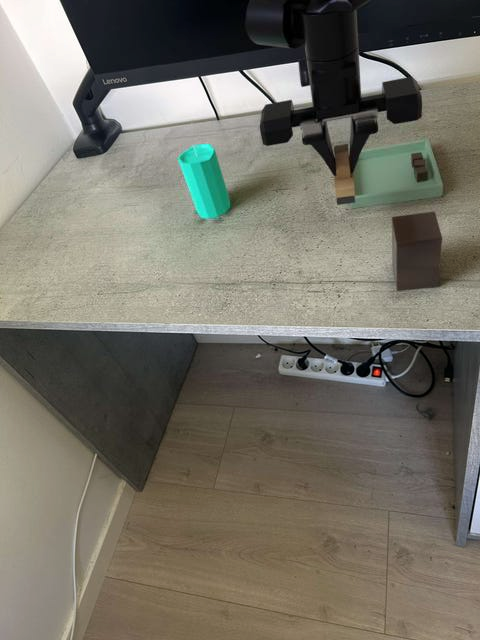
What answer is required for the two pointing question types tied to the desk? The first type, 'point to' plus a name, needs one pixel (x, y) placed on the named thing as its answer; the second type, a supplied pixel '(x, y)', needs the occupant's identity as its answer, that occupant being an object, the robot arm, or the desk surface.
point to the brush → (343, 176)
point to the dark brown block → (416, 251)
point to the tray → (394, 175)
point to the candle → (205, 180)
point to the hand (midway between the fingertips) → (343, 172)
